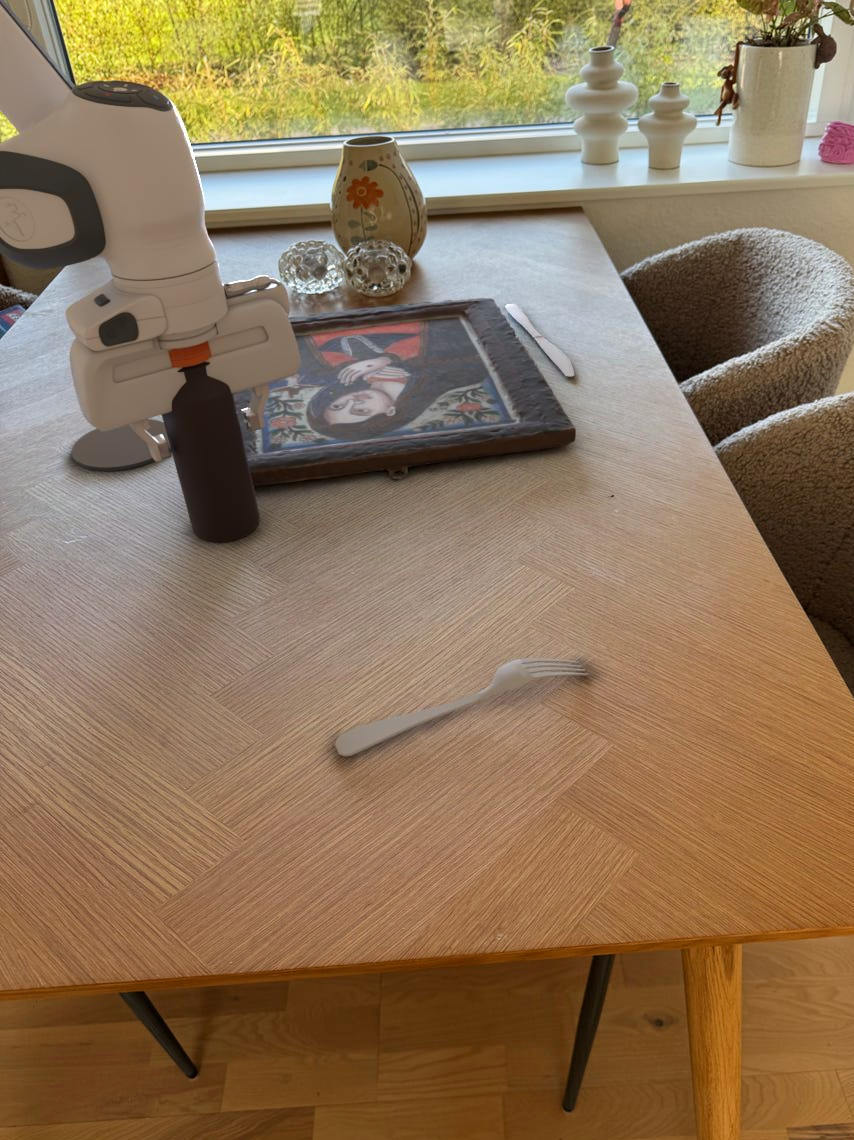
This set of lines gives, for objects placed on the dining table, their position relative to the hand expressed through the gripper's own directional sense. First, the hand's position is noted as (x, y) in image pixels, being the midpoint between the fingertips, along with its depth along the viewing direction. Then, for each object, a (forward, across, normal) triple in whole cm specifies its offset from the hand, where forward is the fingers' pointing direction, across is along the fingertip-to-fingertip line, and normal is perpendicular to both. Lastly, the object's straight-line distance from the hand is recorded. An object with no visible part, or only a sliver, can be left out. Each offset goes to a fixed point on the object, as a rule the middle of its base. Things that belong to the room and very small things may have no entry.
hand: (209, 442), depth 91 cm
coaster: (+9, +3, -24) cm, 26 cm away
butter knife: (+10, -53, -19) cm, 57 cm away
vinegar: (+10, 0, 0) cm, 10 cm away
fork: (+10, -5, +37) cm, 38 cm away
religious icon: (+10, -27, -18) cm, 34 cm away
